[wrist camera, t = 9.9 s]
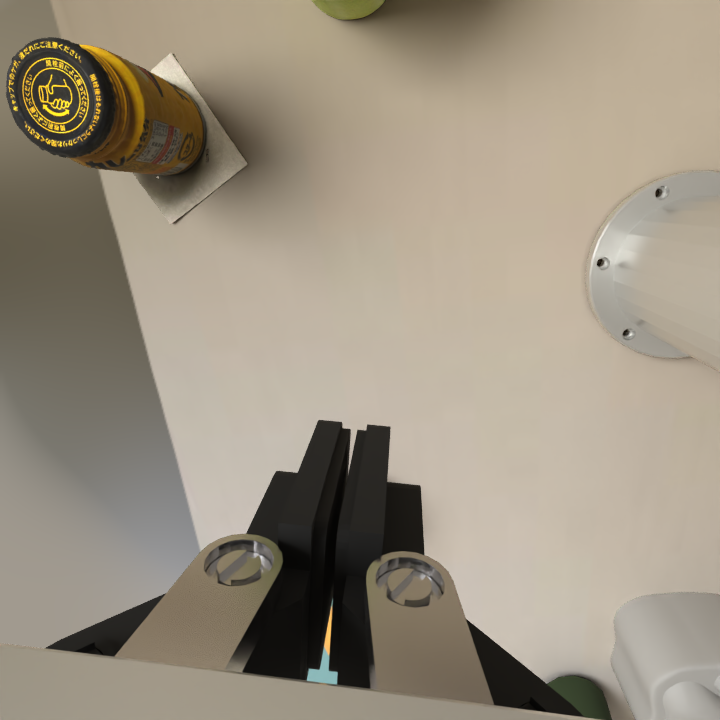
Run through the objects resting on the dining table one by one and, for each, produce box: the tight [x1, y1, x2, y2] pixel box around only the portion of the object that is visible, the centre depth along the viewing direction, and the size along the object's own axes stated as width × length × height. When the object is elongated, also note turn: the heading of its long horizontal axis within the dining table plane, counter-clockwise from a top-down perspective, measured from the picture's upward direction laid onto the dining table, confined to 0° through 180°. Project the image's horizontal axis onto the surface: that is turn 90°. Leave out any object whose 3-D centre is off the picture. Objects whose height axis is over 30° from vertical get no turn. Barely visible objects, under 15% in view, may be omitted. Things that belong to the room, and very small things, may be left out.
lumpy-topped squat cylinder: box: [611, 592, 720, 720], centre depth 41 cm, size 10×13×9 cm
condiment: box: [6, 37, 247, 224], centre depth 30 cm, size 7×8×12 cm
